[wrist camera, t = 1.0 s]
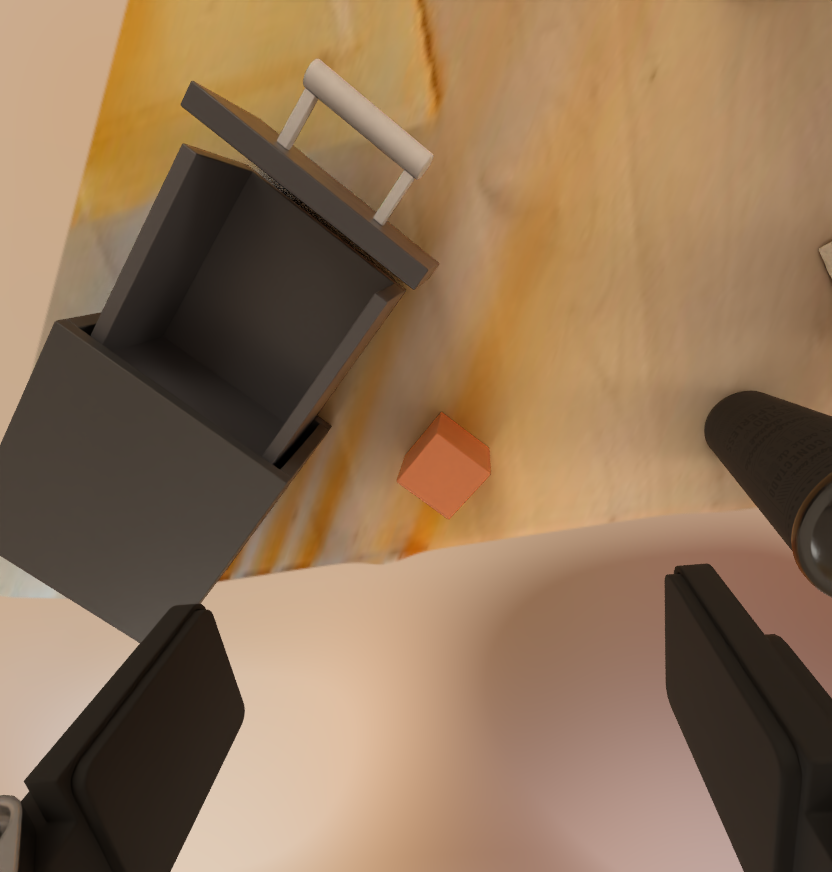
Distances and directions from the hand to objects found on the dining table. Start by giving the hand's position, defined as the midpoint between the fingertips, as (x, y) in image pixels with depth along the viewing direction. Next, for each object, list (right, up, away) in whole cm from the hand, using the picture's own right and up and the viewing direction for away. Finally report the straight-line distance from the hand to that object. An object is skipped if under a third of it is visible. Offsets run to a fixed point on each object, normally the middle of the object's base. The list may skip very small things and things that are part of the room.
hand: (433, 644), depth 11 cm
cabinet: (-17, +3, +29) cm, 34 cm away
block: (+2, +3, +27) cm, 27 cm away
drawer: (-8, +15, +23) cm, 28 cm away
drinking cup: (+21, +5, +24) cm, 33 cm away
